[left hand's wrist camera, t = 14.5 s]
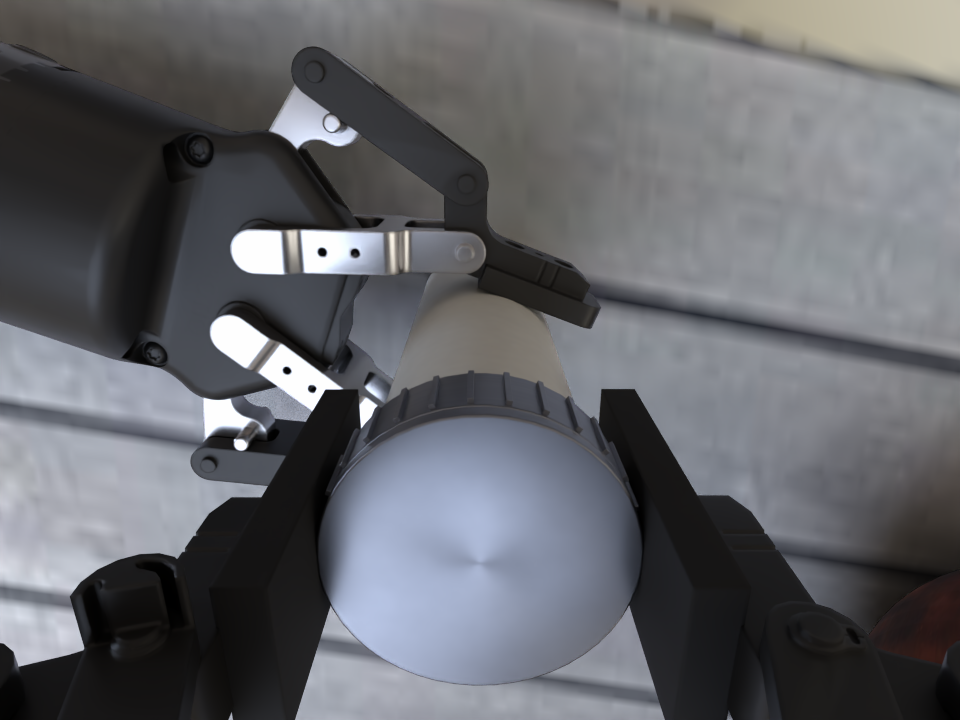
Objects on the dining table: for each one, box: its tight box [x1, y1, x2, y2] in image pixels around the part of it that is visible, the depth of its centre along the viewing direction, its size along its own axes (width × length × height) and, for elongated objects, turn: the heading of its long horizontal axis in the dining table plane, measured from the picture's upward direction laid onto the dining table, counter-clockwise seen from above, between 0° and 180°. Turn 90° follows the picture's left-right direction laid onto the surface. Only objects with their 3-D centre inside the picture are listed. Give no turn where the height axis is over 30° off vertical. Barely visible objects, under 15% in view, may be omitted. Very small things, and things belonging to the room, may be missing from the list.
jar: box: [386, 273, 572, 403], centre depth 19 cm, size 5×5×16 cm
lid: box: [317, 370, 644, 685], centre depth 11 cm, size 6×6×2 cm
